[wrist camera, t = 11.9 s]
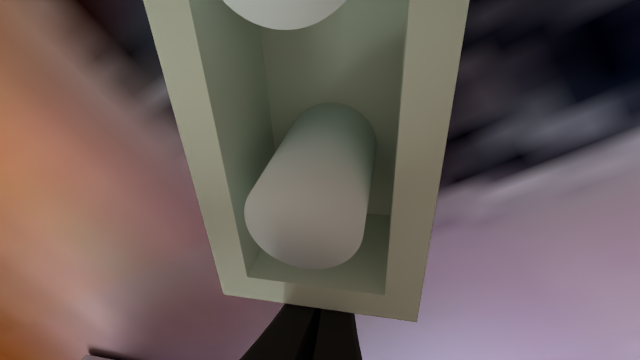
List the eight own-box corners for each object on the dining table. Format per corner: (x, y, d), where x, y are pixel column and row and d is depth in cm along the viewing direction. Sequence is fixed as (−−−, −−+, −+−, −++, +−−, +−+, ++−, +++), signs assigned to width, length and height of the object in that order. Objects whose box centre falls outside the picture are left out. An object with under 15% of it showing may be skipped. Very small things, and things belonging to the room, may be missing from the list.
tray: (414, 218, 12) (417, 340, 8) (270, 205, 13) (215, 310, 9) (480, -297, 6) (589, -665, 2) (205, -252, 7) (-19, -467, 3)
